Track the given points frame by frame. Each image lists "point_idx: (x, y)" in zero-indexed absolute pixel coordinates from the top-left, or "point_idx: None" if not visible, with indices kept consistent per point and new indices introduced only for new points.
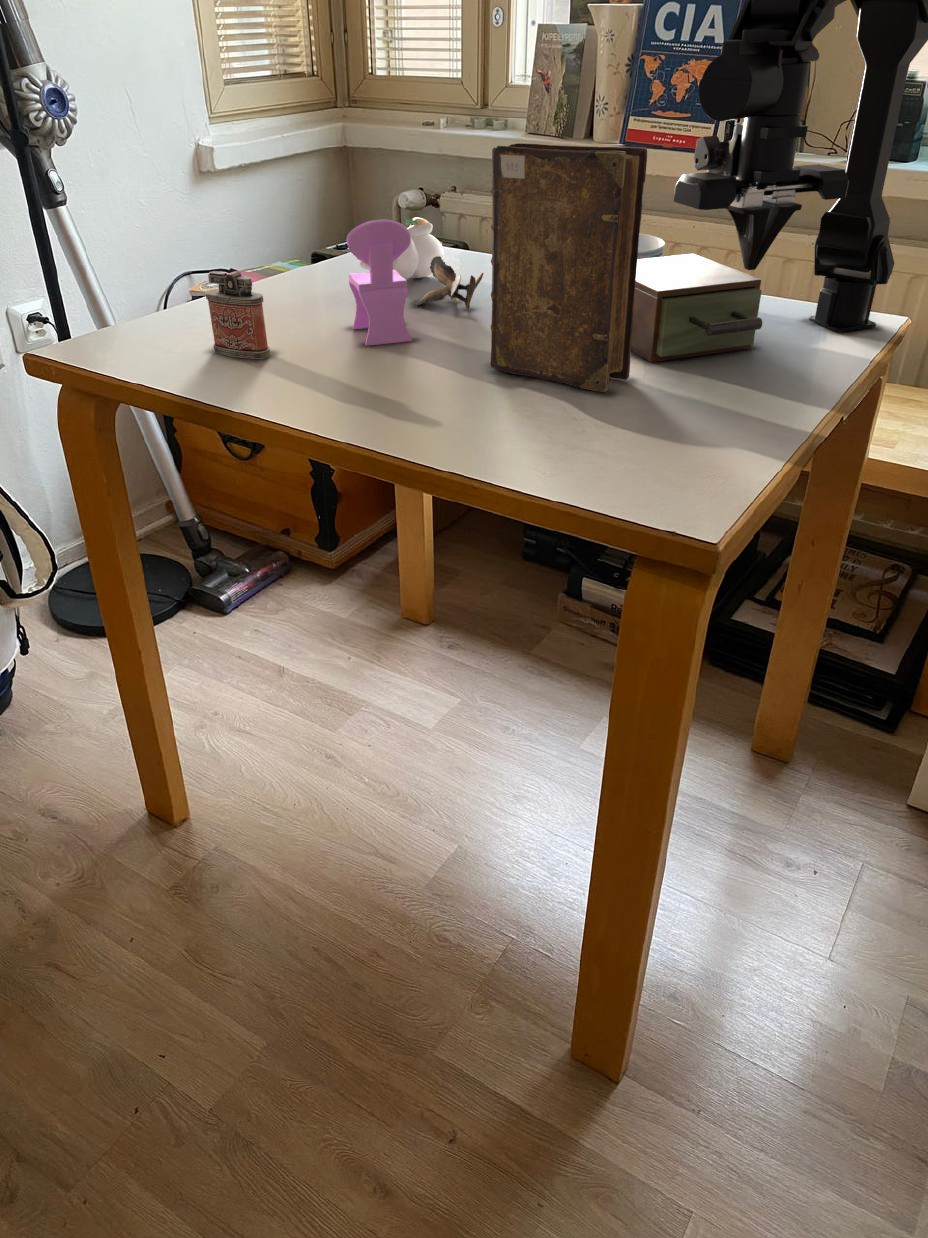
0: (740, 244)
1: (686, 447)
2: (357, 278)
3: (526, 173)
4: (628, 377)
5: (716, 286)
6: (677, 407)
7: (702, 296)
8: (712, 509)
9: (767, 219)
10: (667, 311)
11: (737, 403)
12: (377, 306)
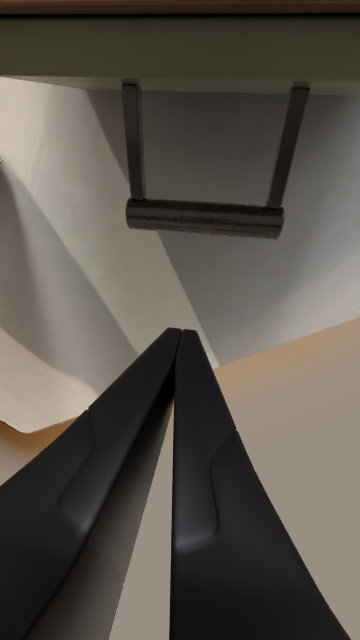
0: (112, 388)
1: (39, 363)
2: None
3: None
4: (1, 162)
5: (250, 6)
6: (57, 292)
7: (150, 72)
8: (32, 418)
9: (107, 637)
10: (21, 79)
11: (135, 313)
12: None
